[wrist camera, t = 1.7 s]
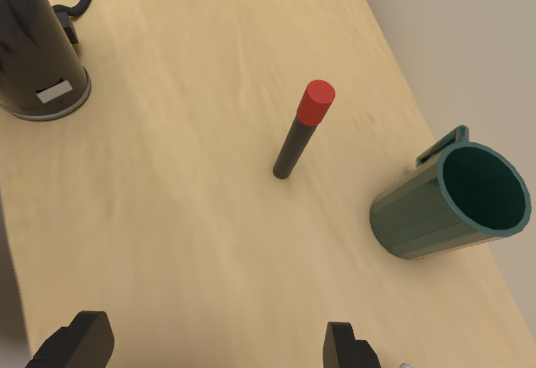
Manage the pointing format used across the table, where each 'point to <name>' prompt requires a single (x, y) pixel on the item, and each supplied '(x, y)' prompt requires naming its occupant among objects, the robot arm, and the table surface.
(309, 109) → the marker
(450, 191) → the mug
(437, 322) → the table surface
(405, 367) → the molecular model
